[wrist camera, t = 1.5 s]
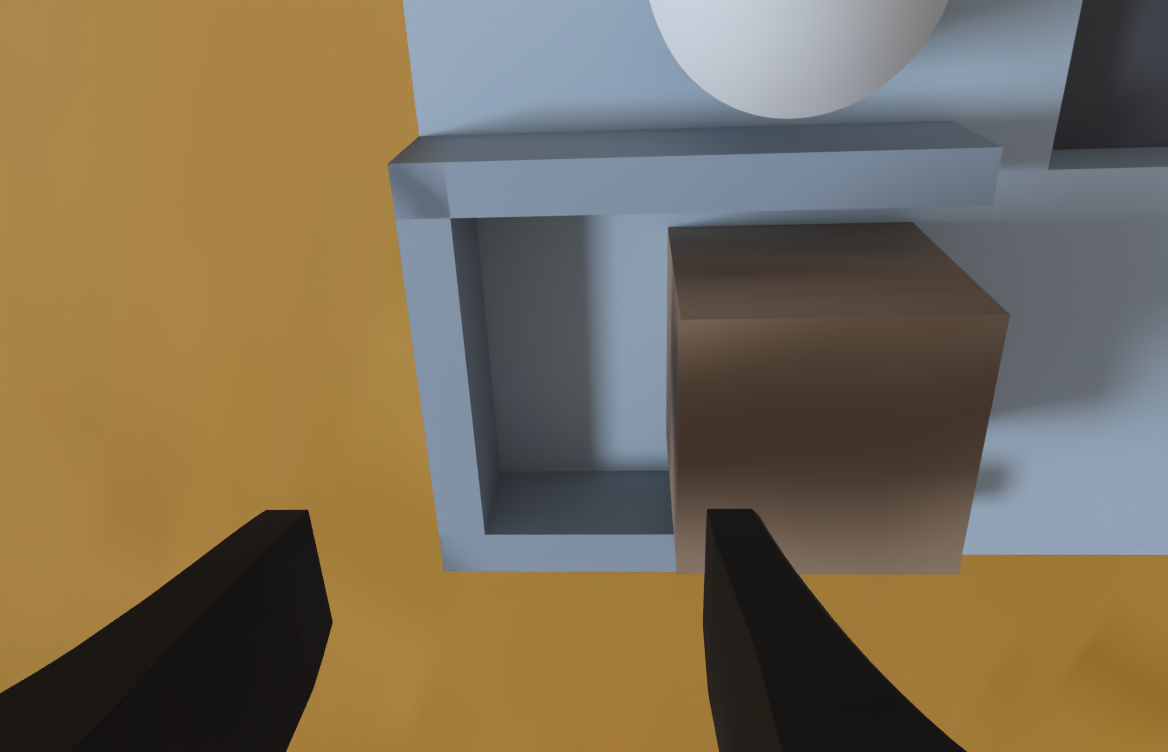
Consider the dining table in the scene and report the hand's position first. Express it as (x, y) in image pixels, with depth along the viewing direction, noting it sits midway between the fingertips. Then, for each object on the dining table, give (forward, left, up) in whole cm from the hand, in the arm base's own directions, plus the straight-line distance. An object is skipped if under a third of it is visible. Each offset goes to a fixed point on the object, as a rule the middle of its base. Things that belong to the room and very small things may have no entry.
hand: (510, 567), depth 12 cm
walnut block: (0, -5, -8) cm, 9 cm away
